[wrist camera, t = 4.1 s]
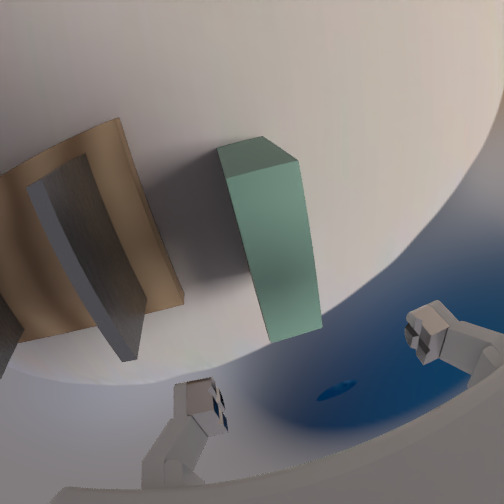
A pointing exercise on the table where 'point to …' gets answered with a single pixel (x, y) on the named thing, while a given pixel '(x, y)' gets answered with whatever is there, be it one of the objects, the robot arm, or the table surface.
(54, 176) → the bookends
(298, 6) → the table surface
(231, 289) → the table surface
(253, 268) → the book
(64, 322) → the shelf board
